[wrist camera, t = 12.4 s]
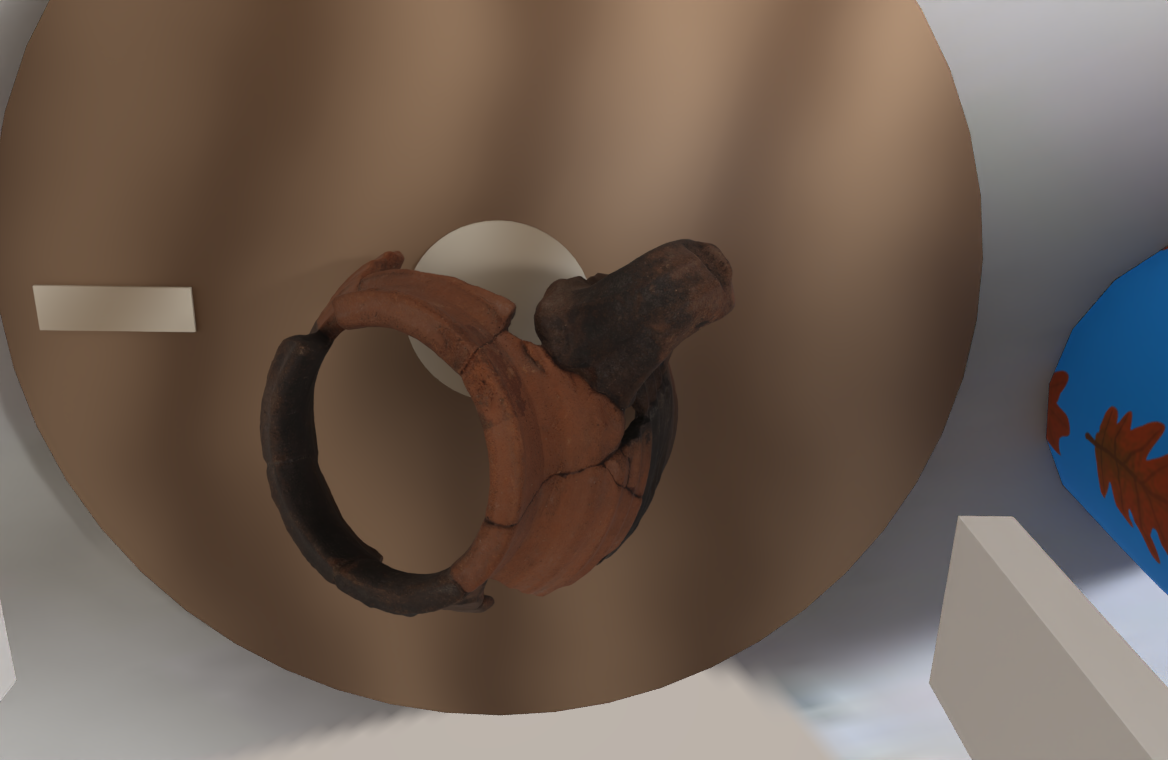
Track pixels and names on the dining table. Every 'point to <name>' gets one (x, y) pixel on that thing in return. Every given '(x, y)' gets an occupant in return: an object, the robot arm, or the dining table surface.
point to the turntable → (498, 264)
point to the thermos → (1119, 414)
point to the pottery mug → (508, 418)
